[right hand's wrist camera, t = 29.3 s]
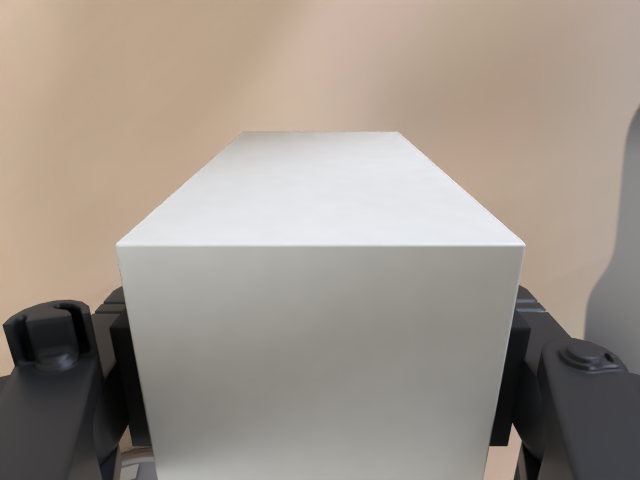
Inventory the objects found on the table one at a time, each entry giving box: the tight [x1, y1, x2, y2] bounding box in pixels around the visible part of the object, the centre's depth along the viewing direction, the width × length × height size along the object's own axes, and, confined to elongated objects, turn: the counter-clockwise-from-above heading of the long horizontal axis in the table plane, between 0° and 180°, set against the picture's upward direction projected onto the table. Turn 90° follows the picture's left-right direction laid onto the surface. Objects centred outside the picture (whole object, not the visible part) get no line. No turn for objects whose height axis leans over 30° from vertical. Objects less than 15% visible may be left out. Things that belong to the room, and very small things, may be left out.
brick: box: [115, 132, 526, 480], centre depth 13 cm, size 6×6×11 cm
